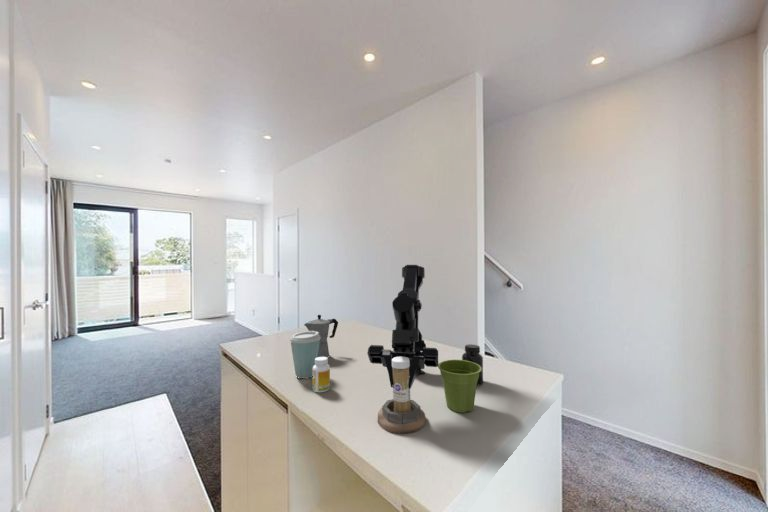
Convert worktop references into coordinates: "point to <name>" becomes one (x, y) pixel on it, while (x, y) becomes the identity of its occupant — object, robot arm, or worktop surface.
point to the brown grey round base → (401, 418)
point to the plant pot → (459, 383)
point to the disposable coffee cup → (305, 352)
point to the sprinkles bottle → (401, 384)
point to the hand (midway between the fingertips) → (400, 387)
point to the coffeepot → (322, 333)
